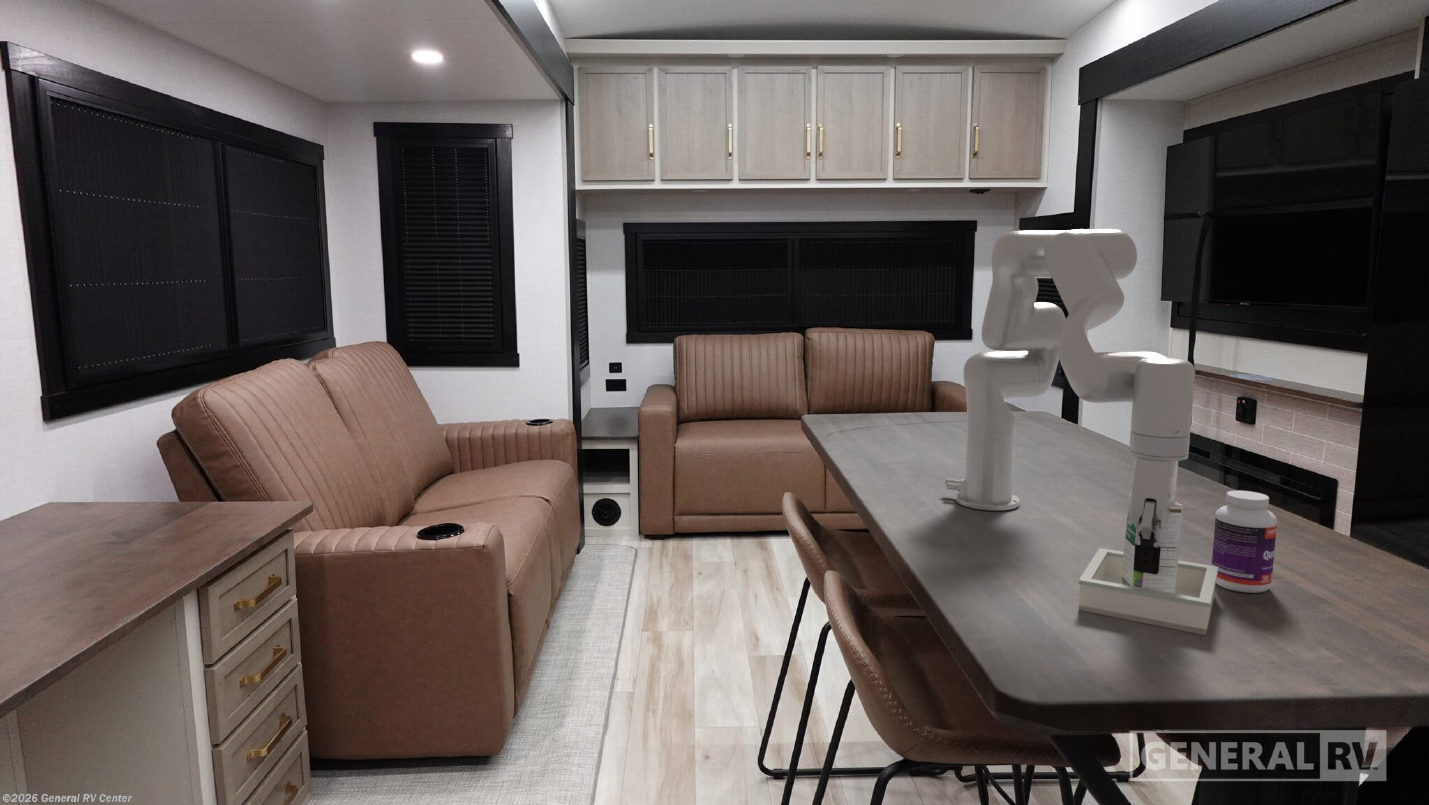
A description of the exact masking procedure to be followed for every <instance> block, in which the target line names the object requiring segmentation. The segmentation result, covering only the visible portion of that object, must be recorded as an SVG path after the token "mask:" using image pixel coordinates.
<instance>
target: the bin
mask: <svg viewBox="0 0 1429 805" xmlns="http://www.w3.org/2000/svg"><path fill="white" fill-rule="evenodd" d="M1123 556H1124V551H1122V550H1114V549H1109V548H1102V547H1099V548H1098V550H1097V551H1096V552H1095V553H1094V556H1093V557H1092V559H1091V560H1090V561H1089V563H1088V565H1087V567H1086V568H1085V570H1084V571H1083V573H1082V574H1081V575H1080V578H1079V579H1078V584H1079V598H1078V599H1079V600H1078V611H1080V612H1086V613H1090V614H1091V613H1092V614H1097V615H1102V616H1107V617H1111V618H1116V619H1120V620H1127V621H1131V622H1137V623H1142V624H1146V625H1147V624H1148V625H1151V626H1157V627H1160V628H1161V627H1163V628H1166V629H1167V628H1168V629H1172V630H1178V631H1182V632H1186V633H1193V634H1198V635H1204V636H1207V633H1208V627H1209V623H1210V619H1211V614H1212V610H1213V609H1212V608H1213V605H1214V601H1215V595H1216V594H1215V593H1216V591H1215V590H1216V578H1217V574H1218V567H1217V566H1211V565H1209V564H1203V563H1197V562H1189V561H1184V560H1179V559H1178V566H1177V577H1176V586H1175V594H1174V593H1169V592H1163V591H1157V590H1152V589H1146V588H1140V587H1135V586H1129V585H1123V584H1121V581H1122V567H1123Z"/></svg>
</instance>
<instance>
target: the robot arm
mask: <svg viewBox="0 0 1429 805" xmlns="http://www.w3.org/2000/svg"><path fill="white" fill-rule="evenodd" d="M1137 261H1138V250H1137V247H1136V244H1135V242H1134V240H1133V239H1132V236H1130V235H1129V233H1126V232H1125V231H1124V230H1121V229H1117V228H1116V229H1115V228H1114V229H1113V228H1106V229H1105V228H1104V229H1103V228H1098V229H1097V228H1094V229H1092V228H1091V229H1090V228H1087V229H1084V228H1080V229H1079V228H1078V229H1070V230H1069V229H1067V230H1051V229H1050V230H1048V229H1047V230H1041V229H1040V230H1039V229H1038V230H1031V229H1030V230H1014V231H1008V232H1005V233H1003V234H1001V235H1000V236H999V237H998V238H997V240H996V241H995V243H994V244H993V248H992V253H991V271H992V272H991V273H992V281H991V287H990V291H989V296H988V299H987V305H986V307H985V308H986V309H985V311H984V312H985V313H984V317H983V321H982V326H981V340H982V343H983V345H984V346H985V348H986V347H987V348H988V349H990V351H983V352H978V353H975V354H973V355H971V356H970V357H969V358H967V360H966V362H965V364H964V366H963V381H964V382H963V383H964V389H965V398H966V433H965V434H966V438H965V463H964V464H965V465H964V466H965V467H964V478H961V479H955V478H949V477H946V479H945V481H944V483H945V484H944V486H945V487H946V489H947V490H952V491H954V490H955V491H957V492H958V493H957V494H956V499H955V500H956V502H957V503H958V504H960V505H961V506H964V507H966V508H968V509H969V508H970V509H973V510H981V511H992V512H993V511H994V512H995V511H996V512H997V511H998V512H999V511H1008V510H1009V511H1010V510H1013V509H1016V508H1018V507H1020V504H1021V500H1020V498H1019V497H1018V496H1017V495H1014V494H1013V488H1014V486H1013V485H1014V484H1013V483H1014V467H1015V466H1014V462H1015V461H1014V460H1015V444H1016V443H1015V441H1016V439H1015V438H1016V419H1015V416H1014V415H1015V414H1014V413H1013V412H1012V410H1011V408H1009V405H1008V404H1007V403H1006V401H1005V399H1012V398H1035V397H1036V398H1037V397H1041V396H1043V395H1045V394H1046V393H1047V392H1048V391H1049V389H1050V388H1051V386H1052V383H1053V381H1054V377H1055V375H1056V371H1057V368H1058V364H1059V362H1060V364H1061V367H1062V370H1063V372H1064V375H1065V376H1066V379H1067V381H1068V383H1069V385H1070V387H1071V389H1072V390H1073V391H1074V393H1075V394H1076V396H1078V398H1080V399H1081V400H1083V401H1085V402H1087V403H1093V404H1095V403H1096V404H1097V403H1098V404H1103V403H1104V404H1105V403H1107V404H1108V403H1132V404H1131V420H1130V434H1129V435H1130V436H1129V447H1128V448H1129V449H1128V450H1129V451H1128V454H1129V455H1131V456H1133V457H1135V461H1134V466H1133V467H1134V468H1133V473H1132V482H1131V492H1130V494H1131V500H1130V509H1129V517H1128V522H1129V523H1130V524H1131V525H1133V524H1134V523H1137V522H1138V520H1139V526H1138V533H1137V541H1136V543H1135V553H1134V566H1133V569H1134V570H1135V571H1138V572H1143V573H1149V574H1155V575H1156V574H1158V572H1159V563H1160V550H1161V547H1159V539H1160V531H1161V529H1163V528H1165V527H1166V526H1167V523H1168V519H1169V515H1170V510H1171V505H1172V503H1173V501H1174V500H1175V497H1176V491H1177V479H1178V468H1179V462H1180V461H1184V460H1188V459H1189V450H1190V440H1191V438H1190V437H1191V426H1192V412H1193V404H1194V400H1193V399H1194V391H1195V390H1194V388H1195V375H1196V370H1195V367H1194V365H1193V363H1191V361H1188V360H1185V359H1182V358H1181V359H1180V358H1169V357H1167V356H1166V355H1164V354H1162V353H1160V352H1155V351H1105V352H1103V351H1101V352H1100V351H1099V352H1095V351H1094V348H1093V347H1092V345H1091V343H1090V341H1089V339H1088V336H1087V334H1086V332H1089V331H1090V330H1092V329H1094V328H1097V327H1098V326H1101V325H1102V324H1105V323H1106V322H1108V321H1110V320H1111V319H1112V318H1113V317H1115V316H1116V315H1117V314H1118V313H1119V312H1120V311H1121V309H1122V308H1123V306H1124V303H1125V294H1124V292H1123V290H1122V288H1121V287H1120V285H1119V283H1118V281H1119V280H1123V279H1125V278H1127V277H1129V275H1131V274H1132V272H1133V271H1134V270H1135V268H1136V265H1137ZM1038 279H1052V280H1053V283H1054V285H1055V286H1056V289H1057V291H1058V295H1060V298H1061V300H1062V303H1063V304H1064V306H1065V308H1066V311H1067V313H1068V315H1067V317H1066V316H1065V314H1064V313H1065V312H1064V311H1063V310H1062V308H1061V307H1060V306H1058V305H1056V304H1054V303H1051V302H1044V301H1043V302H1041V301H1039V302H1036V301H1037V296H1038V292H1039V282H1038ZM991 350H993V351H991ZM1155 508H1156V511H1155ZM1142 513H1143V519H1142V518H1141V515H1142ZM1139 518H1140V519H1139ZM1153 521H1155V522H1158V525H1155V524H1153ZM1152 530H1155V534H1154V532H1152ZM1154 536H1155V537H1154ZM1154 538H1155V539H1154Z"/></svg>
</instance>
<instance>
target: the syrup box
mask: <svg viewBox="0 0 1429 805" xmlns="http://www.w3.org/2000/svg"><path fill="white" fill-rule="evenodd" d="M1130 500H1131V493H1128V504H1127V514H1126V525H1125V534H1124V535H1125V536H1124V548H1123V552H1124V556H1123V567H1122V581H1121V584H1123V585H1129V586H1135V587H1140V588H1146V589H1152V590H1157V591H1163V592H1169V593H1174V594H1175V586H1176V577H1177V566H1178V560H1179V552H1180V544H1181V537H1182V535H1181V534H1182V532H1181V531H1182V523H1183V513H1184V512H1183V511H1184V505H1183V504H1180V503H1179V502H1178V501H1176V500H1175V499H1174V501H1173V503H1172V505H1171V510H1170V515H1169V519H1168V523H1167V526H1166V527H1165V528H1163V529H1161V531H1160V539H1159V547H1161V550H1160V563H1159V572H1158V574H1156V575H1155V574H1149V573H1143V572H1138V571H1135V570H1134V569H1133V566H1134V553H1135V543H1136V541H1137V533H1138V526H1139V520H1138V522H1137V523H1134V524H1133V525H1131V524H1130V523H1129V522H1128V517H1129V509H1130ZM1155 511H1156V508H1155ZM1141 518H1142V519H1143V513H1142V515H1141ZM1139 519H1140V518H1139ZM1153 524H1155V525H1158V522H1155V521H1153ZM1152 532H1154V534H1155V530H1152ZM1154 537H1155V536H1154ZM1154 539H1155V538H1154Z"/></svg>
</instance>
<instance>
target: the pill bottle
mask: <svg viewBox="0 0 1429 805" xmlns="http://www.w3.org/2000/svg"><path fill="white" fill-rule="evenodd" d="M1225 500H1226V501H1225V502H1226V503H1227V504H1226V505H1223V506H1220V507H1219V508H1218V509H1217V510H1216V512H1215V516H1214V517H1215V520H1214V530H1213V531H1214V533H1213V534H1214V535H1213V543H1212V546H1213V547H1212V554H1211V556H1212V557H1211V565H1210V566H1217V567H1218V574H1217V578H1216V583H1215V585H1218V586H1220V587H1222V588H1224V589H1226V590H1230V591H1235V592H1240V593H1251V594H1254V593H1255V594H1257V593H1264V592H1266V591H1268V590H1269V589H1271V587H1272V582H1273V571H1274V560H1275V549H1276V539H1277V531H1278V530H1277V528H1278V519H1277V517H1276V515H1275V514H1274V513H1273V512H1272V511H1271V510H1268V509H1267V508H1269V505H1270V504H1269V503H1270V497H1269V496H1268V495H1267V494H1264V493H1260V492H1256V491H1255V492H1254V491H1252V490H1251V491H1249V490H1229V491H1227V492H1226V498H1225Z"/></svg>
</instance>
